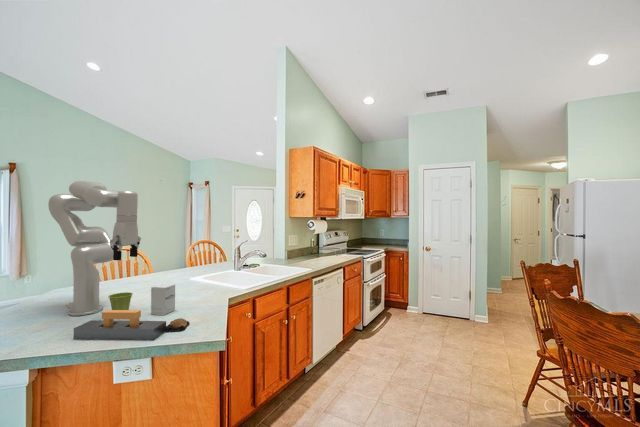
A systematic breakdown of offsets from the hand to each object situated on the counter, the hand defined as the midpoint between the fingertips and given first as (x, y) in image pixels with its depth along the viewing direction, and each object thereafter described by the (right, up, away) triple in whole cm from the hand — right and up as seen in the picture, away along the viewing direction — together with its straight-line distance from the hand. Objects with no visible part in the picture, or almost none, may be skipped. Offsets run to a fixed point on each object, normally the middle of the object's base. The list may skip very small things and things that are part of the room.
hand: (125, 258), depth 126 cm
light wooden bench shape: (+10, -25, -17) cm, 32 cm away
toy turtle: (+27, -27, -9) cm, 40 cm away
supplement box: (+12, -27, +9) cm, 31 cm away
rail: (+10, -26, -17) cm, 33 cm away
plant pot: (-7, -27, +7) cm, 29 cm away
